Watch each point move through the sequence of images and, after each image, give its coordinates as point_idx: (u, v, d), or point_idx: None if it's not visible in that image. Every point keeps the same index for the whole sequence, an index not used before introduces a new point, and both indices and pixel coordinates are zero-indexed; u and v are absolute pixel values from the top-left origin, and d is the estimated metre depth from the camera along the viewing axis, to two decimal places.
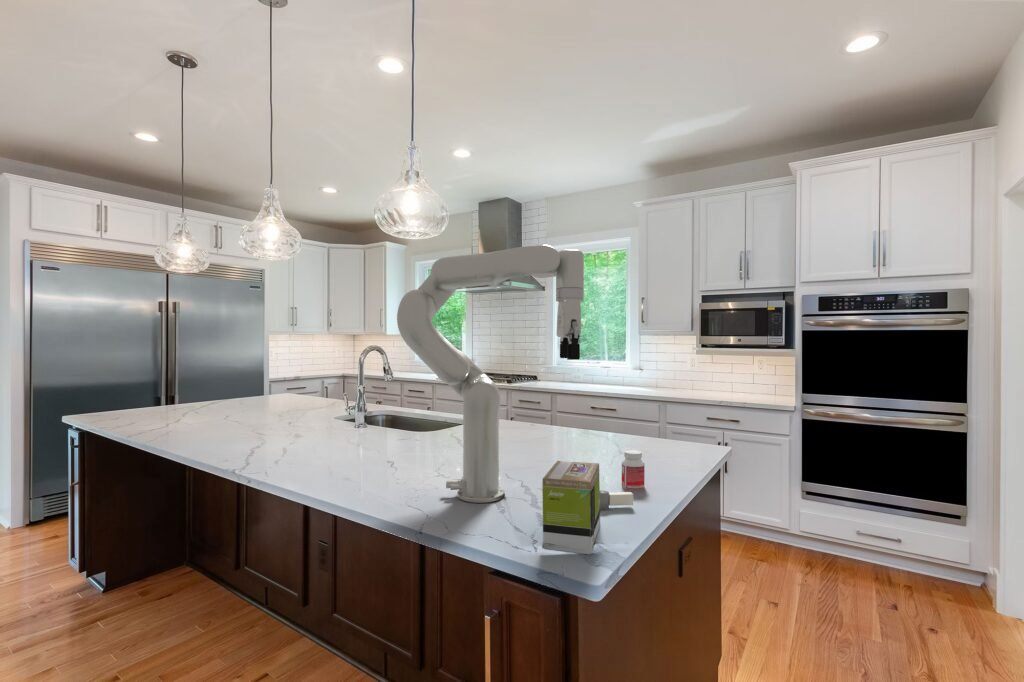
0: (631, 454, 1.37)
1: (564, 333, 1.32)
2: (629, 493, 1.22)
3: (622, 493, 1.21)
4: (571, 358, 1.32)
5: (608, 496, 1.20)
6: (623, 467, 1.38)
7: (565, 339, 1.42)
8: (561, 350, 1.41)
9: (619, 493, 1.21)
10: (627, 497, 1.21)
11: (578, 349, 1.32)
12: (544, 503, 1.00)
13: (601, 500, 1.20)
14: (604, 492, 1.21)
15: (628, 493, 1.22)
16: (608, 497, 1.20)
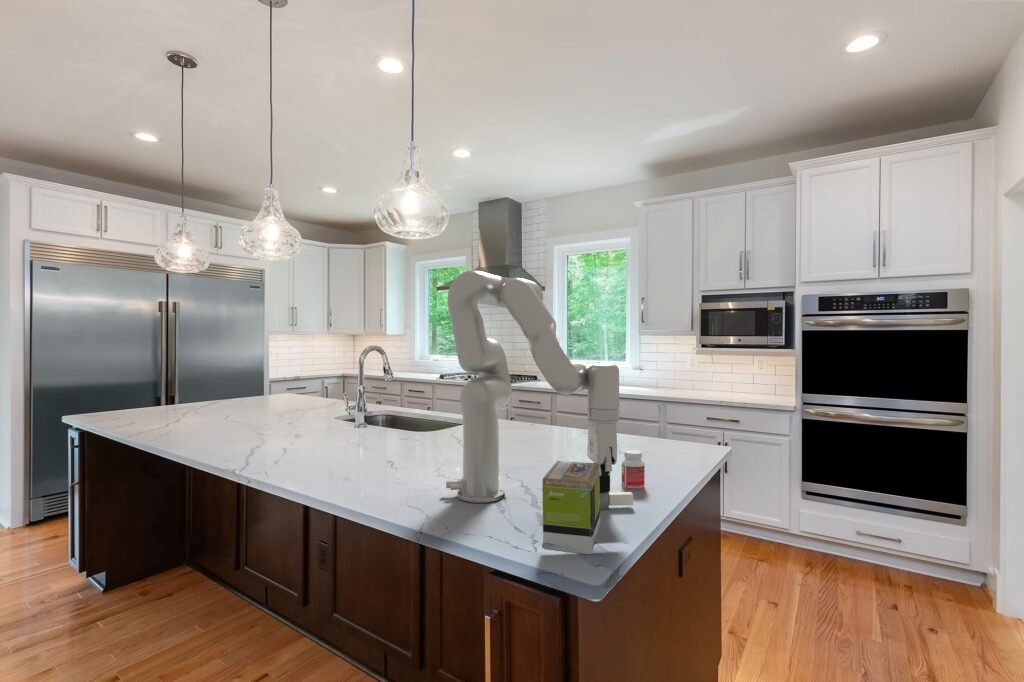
0: (631, 454, 1.37)
1: (598, 462, 1.16)
2: (629, 493, 1.22)
3: (622, 493, 1.21)
4: (601, 491, 1.20)
5: (608, 496, 1.20)
6: (623, 467, 1.38)
7: None
8: None
9: (619, 493, 1.21)
10: (627, 497, 1.21)
11: (608, 481, 1.20)
12: (544, 503, 1.00)
13: (601, 500, 1.20)
14: (604, 492, 1.21)
15: (628, 493, 1.22)
16: (608, 497, 1.20)
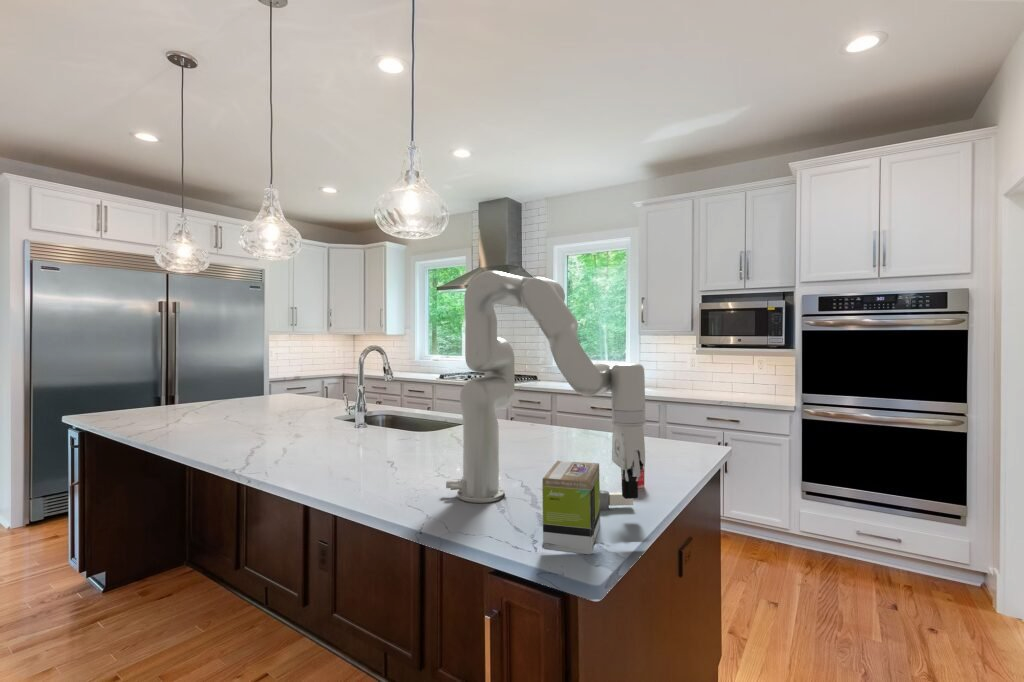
0: None
1: (626, 467, 1.10)
2: None
3: None
4: (628, 497, 1.14)
5: (608, 496, 1.20)
6: None
7: None
8: None
9: (619, 493, 1.21)
10: None
11: (636, 486, 1.15)
12: (544, 503, 1.00)
13: (601, 500, 1.20)
14: (604, 492, 1.21)
15: None
16: (608, 497, 1.20)
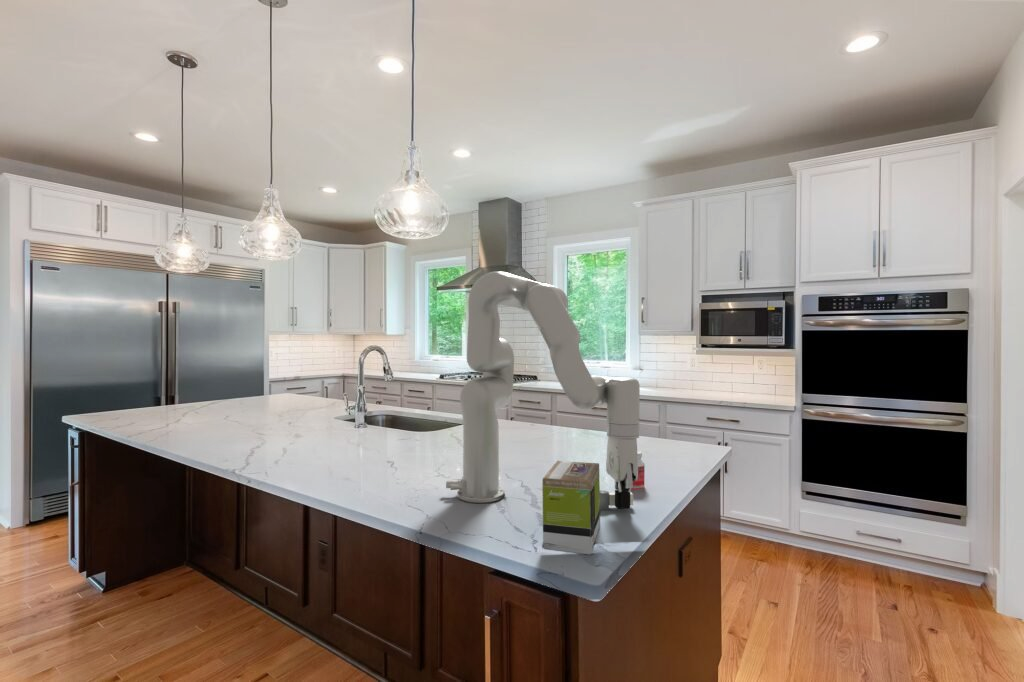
0: None
1: (619, 479, 1.14)
2: None
3: None
4: (621, 507, 1.18)
5: (608, 496, 1.20)
6: None
7: None
8: None
9: None
10: None
11: (628, 497, 1.18)
12: (544, 503, 1.00)
13: (601, 500, 1.20)
14: (604, 492, 1.21)
15: None
16: (608, 497, 1.20)
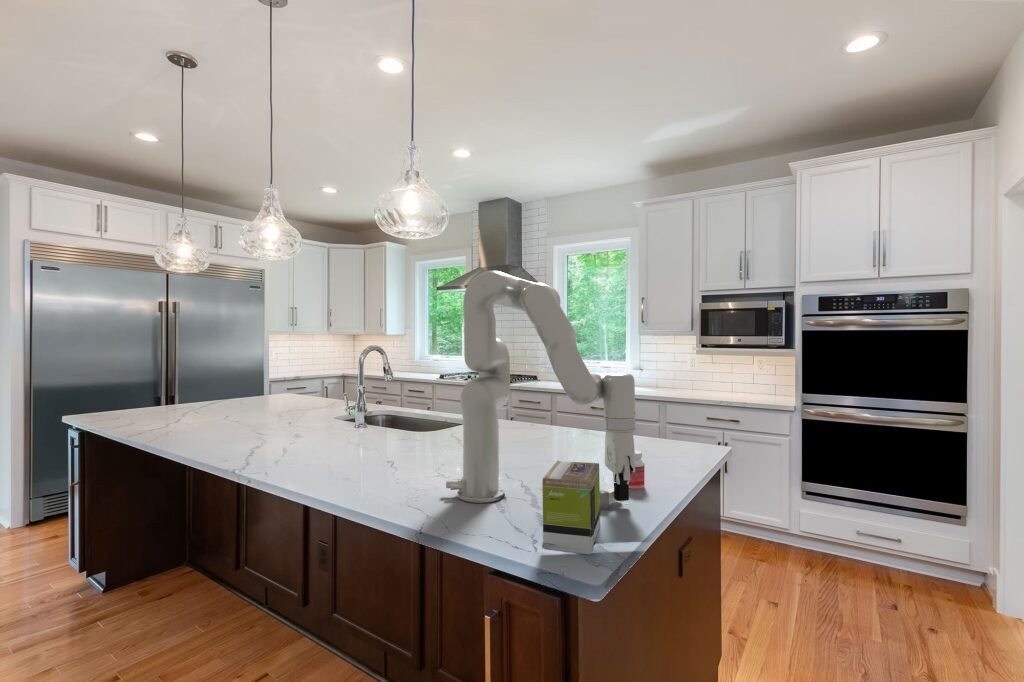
0: None
1: (616, 471, 1.17)
2: None
3: (613, 489, 1.25)
4: (620, 499, 1.21)
5: (608, 495, 1.21)
6: None
7: None
8: None
9: (611, 490, 1.24)
10: None
11: (627, 489, 1.21)
12: (544, 503, 1.00)
13: (606, 500, 1.20)
14: (604, 492, 1.21)
15: None
16: (608, 495, 1.21)
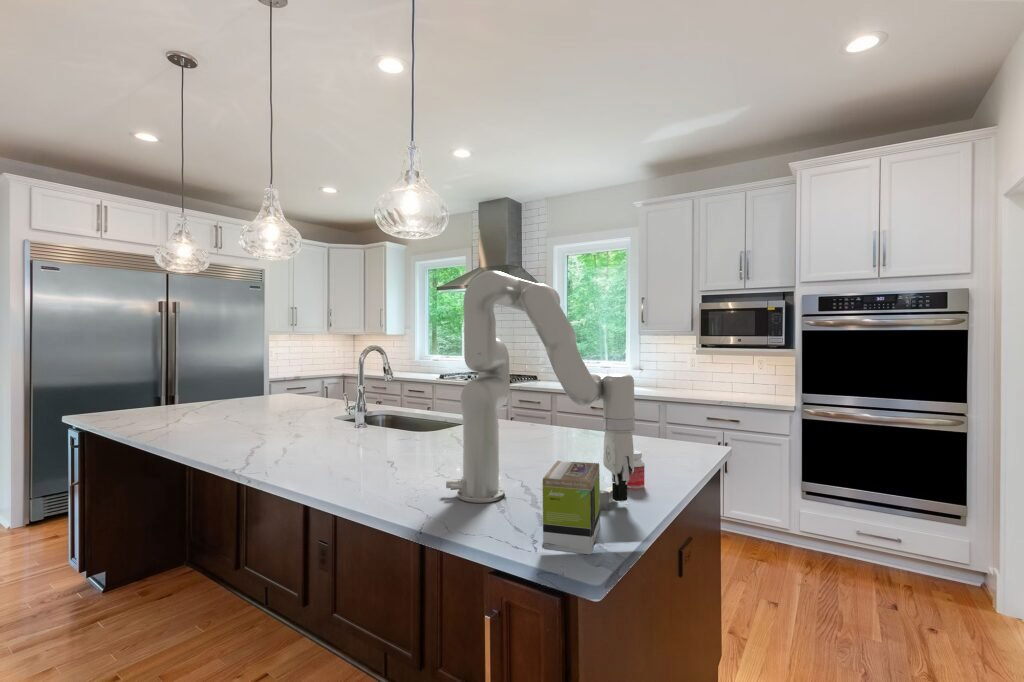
0: None
1: (615, 472, 1.18)
2: None
3: (610, 489, 1.25)
4: (618, 499, 1.22)
5: None
6: None
7: None
8: None
9: (609, 489, 1.24)
10: None
11: (625, 489, 1.22)
12: (544, 503, 1.00)
13: (606, 500, 1.20)
14: (603, 492, 1.21)
15: None
16: None
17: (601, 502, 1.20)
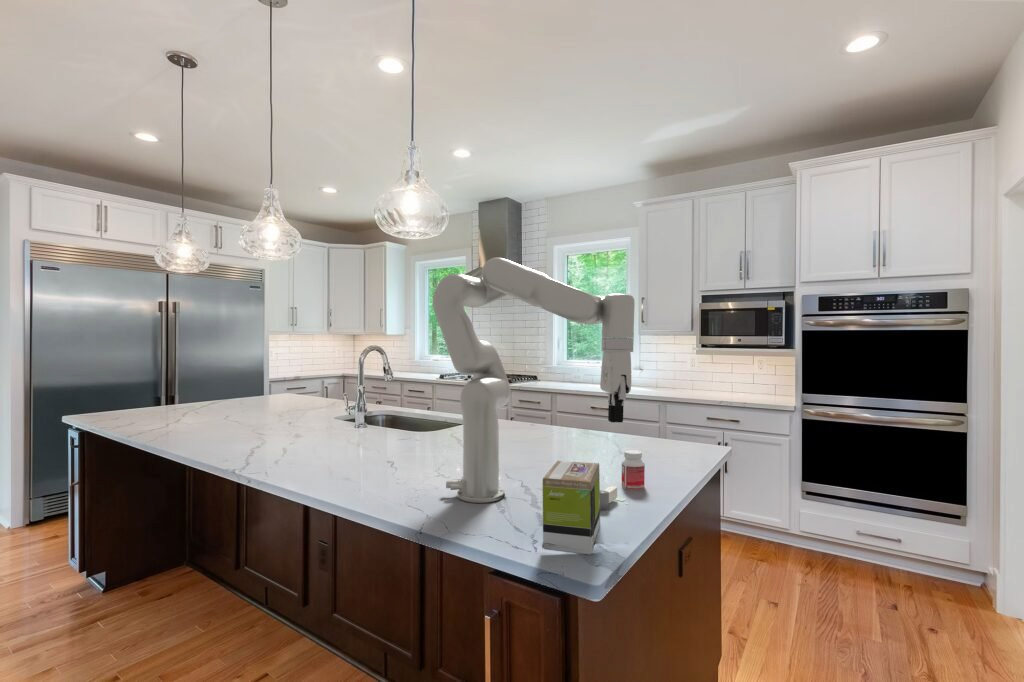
0: (631, 454, 1.37)
1: (612, 390, 1.16)
2: (613, 487, 1.26)
3: (610, 489, 1.25)
4: (614, 421, 1.20)
5: None
6: (623, 467, 1.38)
7: None
8: None
9: (609, 489, 1.25)
10: (615, 491, 1.25)
11: (621, 411, 1.20)
12: (544, 503, 1.00)
13: (606, 500, 1.20)
14: (603, 492, 1.21)
15: (612, 487, 1.26)
16: None
17: (601, 502, 1.20)
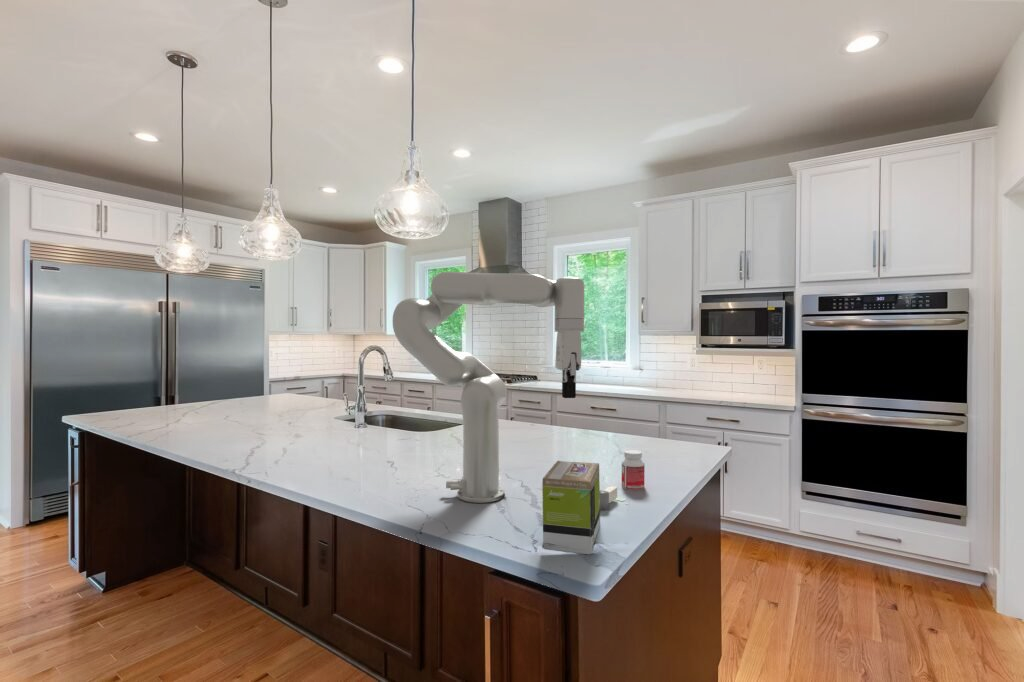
0: (631, 454, 1.37)
1: (563, 367, 1.24)
2: (613, 487, 1.26)
3: (610, 489, 1.25)
4: (567, 397, 1.28)
5: None
6: (623, 467, 1.38)
7: None
8: None
9: (609, 489, 1.25)
10: (615, 491, 1.25)
11: (574, 387, 1.28)
12: (544, 503, 1.00)
13: (606, 500, 1.20)
14: (603, 492, 1.21)
15: (612, 487, 1.26)
16: None
17: (601, 502, 1.20)
